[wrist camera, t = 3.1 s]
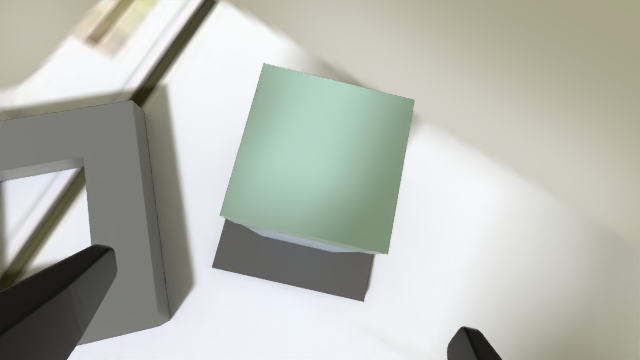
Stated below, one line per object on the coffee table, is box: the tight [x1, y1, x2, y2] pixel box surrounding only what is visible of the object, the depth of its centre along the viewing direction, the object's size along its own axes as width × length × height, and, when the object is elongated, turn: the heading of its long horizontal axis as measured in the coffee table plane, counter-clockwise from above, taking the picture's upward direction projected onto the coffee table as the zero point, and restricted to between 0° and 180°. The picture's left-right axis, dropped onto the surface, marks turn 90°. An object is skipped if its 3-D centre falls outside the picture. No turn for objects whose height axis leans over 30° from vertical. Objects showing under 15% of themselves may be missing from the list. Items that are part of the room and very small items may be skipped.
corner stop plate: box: [212, 219, 372, 302], centre depth 18 cm, size 8×8×2 cm
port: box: [0, 100, 170, 346], centre depth 17 cm, size 12×12×2 cm
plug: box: [220, 63, 414, 254], centre depth 14 cm, size 4×4×11 cm
